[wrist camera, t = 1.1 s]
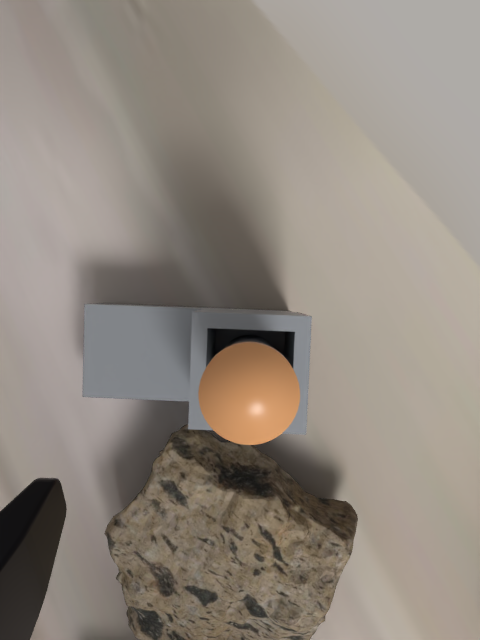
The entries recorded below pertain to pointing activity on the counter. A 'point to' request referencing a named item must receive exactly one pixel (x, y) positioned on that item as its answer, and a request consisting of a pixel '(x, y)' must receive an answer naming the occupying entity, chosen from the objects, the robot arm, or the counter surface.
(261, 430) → the plunger
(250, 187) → the counter surface
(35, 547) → the robot arm
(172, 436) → the rock
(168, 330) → the bay
